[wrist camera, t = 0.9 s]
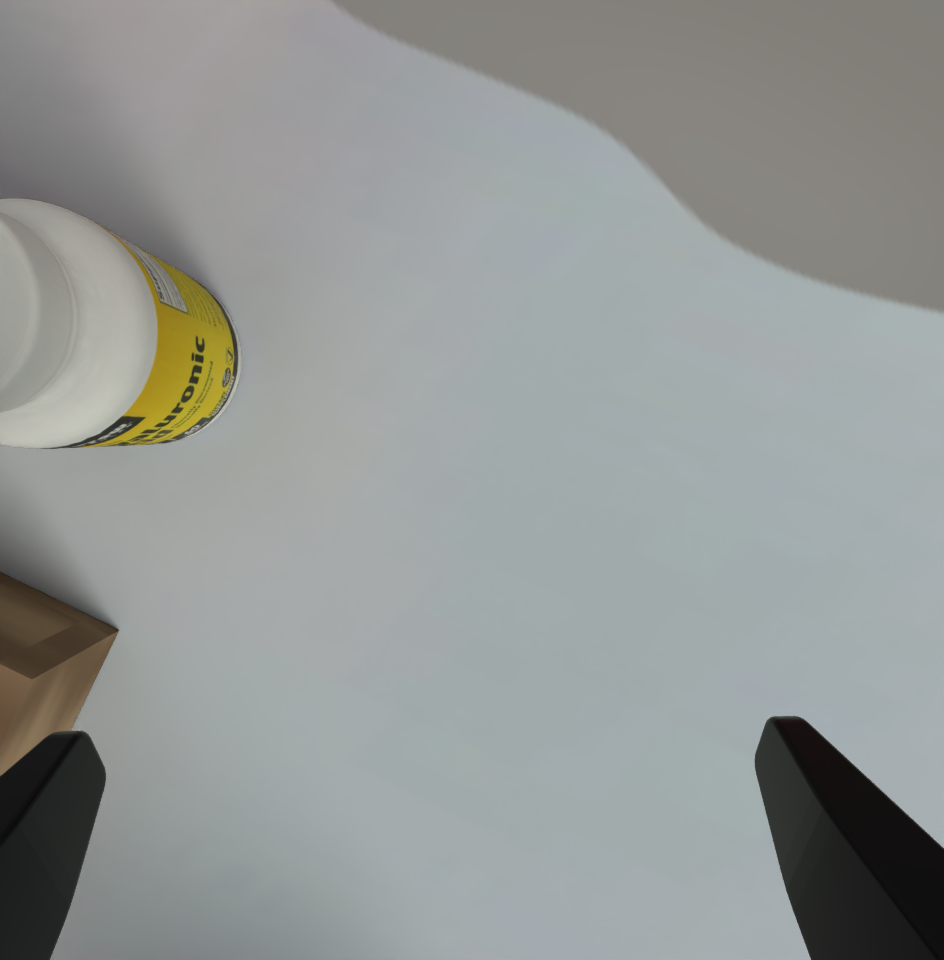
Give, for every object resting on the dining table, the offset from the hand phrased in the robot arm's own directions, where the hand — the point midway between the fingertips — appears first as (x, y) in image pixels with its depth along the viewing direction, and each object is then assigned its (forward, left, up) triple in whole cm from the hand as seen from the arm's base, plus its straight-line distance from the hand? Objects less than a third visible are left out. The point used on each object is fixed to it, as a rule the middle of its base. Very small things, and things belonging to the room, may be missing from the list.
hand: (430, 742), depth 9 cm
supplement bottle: (+2, +11, -13) cm, 18 cm away
